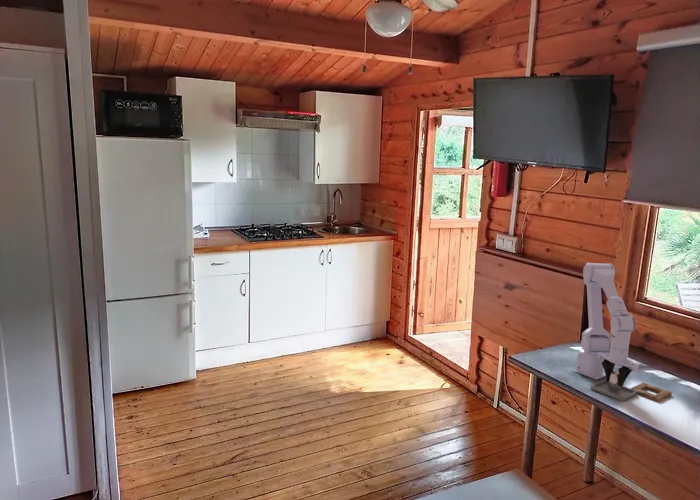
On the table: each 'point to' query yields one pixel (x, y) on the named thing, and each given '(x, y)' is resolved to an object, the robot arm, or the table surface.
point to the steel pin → (614, 381)
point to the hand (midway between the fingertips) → (614, 383)
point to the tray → (620, 395)
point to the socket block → (658, 397)
